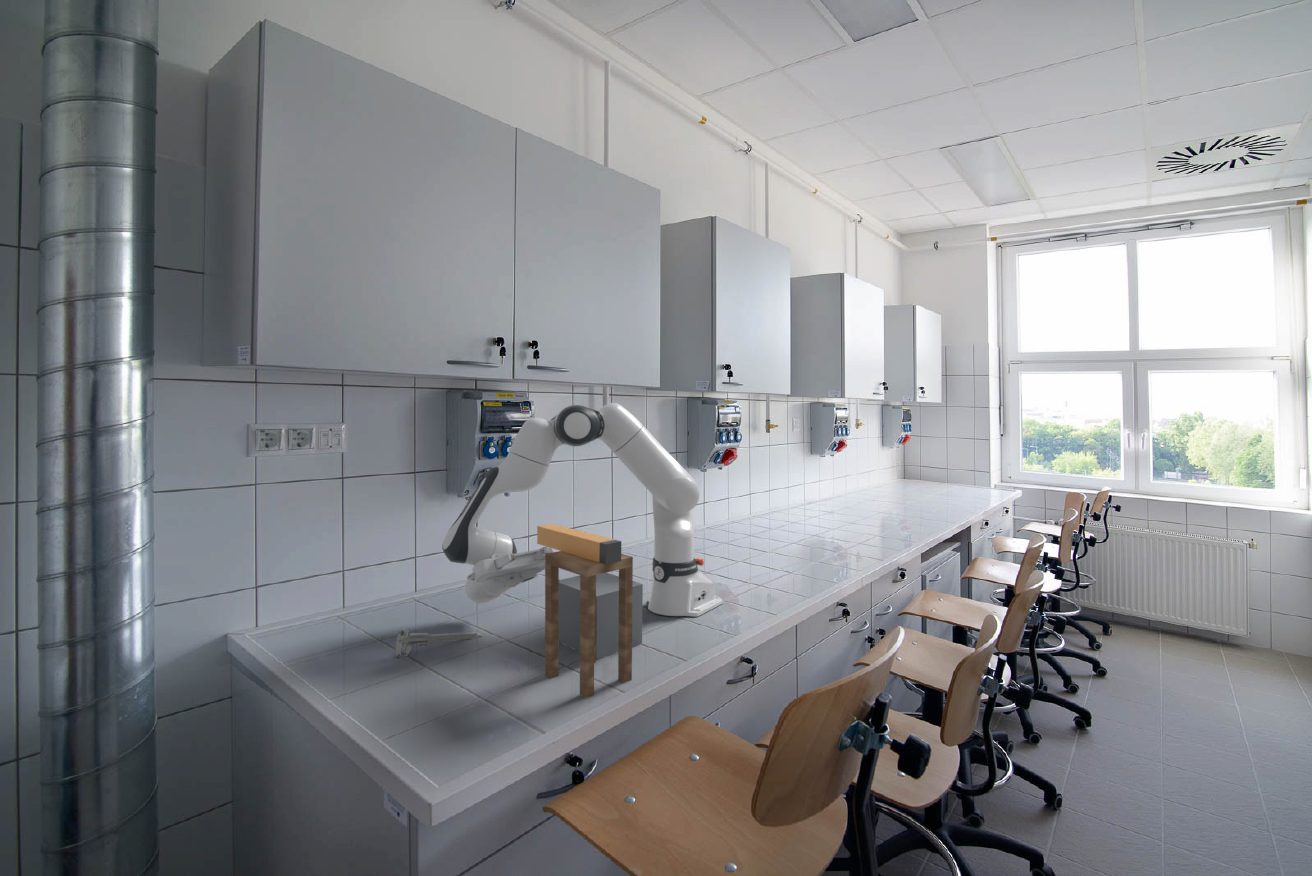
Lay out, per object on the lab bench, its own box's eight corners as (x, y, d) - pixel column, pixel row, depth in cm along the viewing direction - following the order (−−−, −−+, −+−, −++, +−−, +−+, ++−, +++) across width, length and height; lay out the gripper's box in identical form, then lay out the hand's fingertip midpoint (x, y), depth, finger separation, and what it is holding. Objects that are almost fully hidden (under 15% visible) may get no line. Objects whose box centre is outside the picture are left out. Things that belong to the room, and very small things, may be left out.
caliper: (397, 659, 142) (397, 631, 141) (395, 657, 143) (395, 630, 142) (482, 637, 155) (481, 612, 155) (480, 636, 156) (479, 611, 156)
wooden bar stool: (590, 659, 142) (590, 545, 140) (631, 679, 132) (632, 556, 130) (545, 675, 134) (545, 553, 132) (586, 698, 124) (586, 567, 122)
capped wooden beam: (552, 541, 144) (552, 523, 144) (621, 561, 127) (621, 541, 127) (537, 543, 141) (537, 526, 141) (605, 564, 124) (605, 544, 124)
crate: (599, 626, 163) (600, 570, 162) (642, 643, 152) (642, 584, 151) (554, 640, 153) (555, 581, 153) (596, 659, 142) (596, 596, 141)
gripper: (460, 567, 150) (485, 547, 141) (534, 553, 164) (561, 534, 155) (467, 593, 148) (493, 574, 139) (541, 576, 163) (568, 558, 154)
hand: (529, 553), depth 148 cm, fingers open, 8 cm apart
